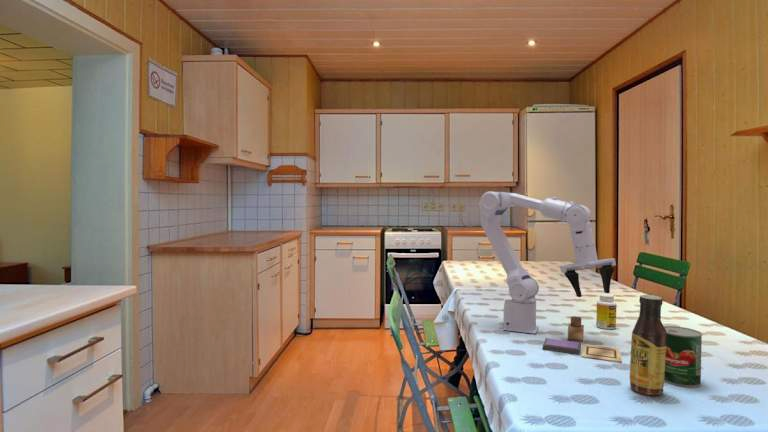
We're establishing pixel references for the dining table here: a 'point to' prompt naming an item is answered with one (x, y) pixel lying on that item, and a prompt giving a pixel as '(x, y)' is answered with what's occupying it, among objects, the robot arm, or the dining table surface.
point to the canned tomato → (683, 356)
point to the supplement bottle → (606, 312)
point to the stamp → (576, 330)
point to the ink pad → (562, 346)
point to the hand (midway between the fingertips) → (593, 294)
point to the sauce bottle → (648, 348)
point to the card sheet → (601, 353)
